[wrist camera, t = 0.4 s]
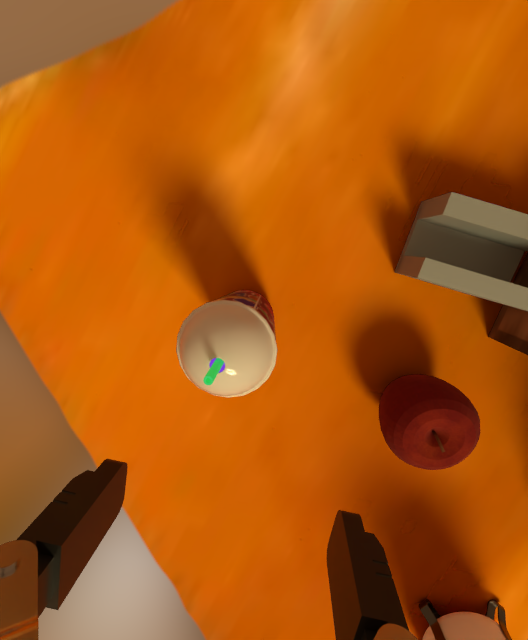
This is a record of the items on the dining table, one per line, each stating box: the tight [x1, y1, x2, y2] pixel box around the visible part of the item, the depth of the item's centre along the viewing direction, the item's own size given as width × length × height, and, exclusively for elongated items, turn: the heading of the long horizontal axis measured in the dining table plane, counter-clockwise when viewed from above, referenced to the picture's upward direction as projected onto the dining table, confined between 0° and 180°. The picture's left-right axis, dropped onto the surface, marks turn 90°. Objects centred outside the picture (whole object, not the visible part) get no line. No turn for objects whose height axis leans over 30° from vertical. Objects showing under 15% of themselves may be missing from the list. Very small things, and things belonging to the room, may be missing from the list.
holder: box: [395, 192, 528, 311], centre depth 34 cm, size 8×12×7 cm, turn 74°
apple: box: [379, 374, 480, 470], centre depth 37 cm, size 10×10×10 cm
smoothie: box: [176, 290, 277, 397], centre depth 31 cm, size 8×8×20 cm
